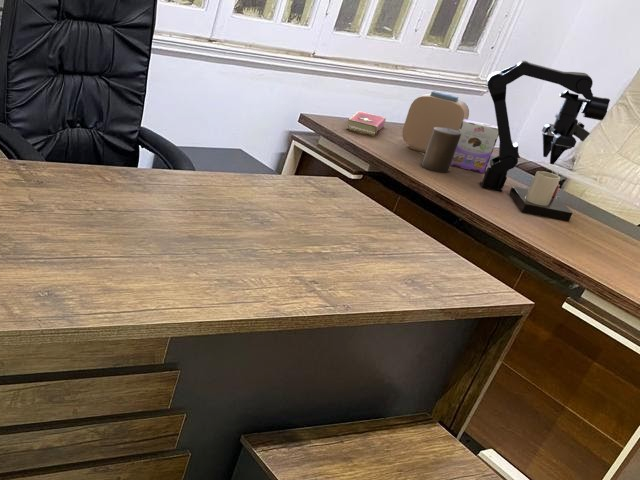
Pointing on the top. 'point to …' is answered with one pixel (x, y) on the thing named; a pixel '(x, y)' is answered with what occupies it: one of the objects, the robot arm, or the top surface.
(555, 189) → the red cube
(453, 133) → the pillar candle
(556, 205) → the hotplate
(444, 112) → the alarm clock
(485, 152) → the candy box
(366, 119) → the hardcover book
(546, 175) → the cup
